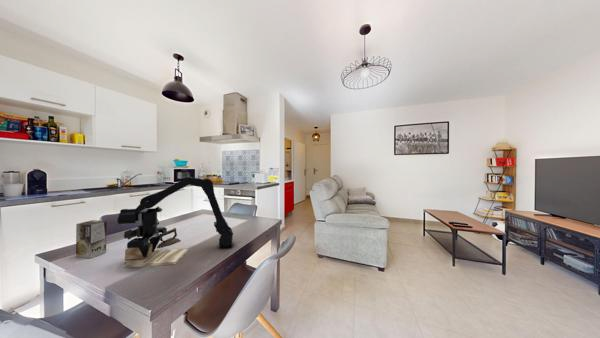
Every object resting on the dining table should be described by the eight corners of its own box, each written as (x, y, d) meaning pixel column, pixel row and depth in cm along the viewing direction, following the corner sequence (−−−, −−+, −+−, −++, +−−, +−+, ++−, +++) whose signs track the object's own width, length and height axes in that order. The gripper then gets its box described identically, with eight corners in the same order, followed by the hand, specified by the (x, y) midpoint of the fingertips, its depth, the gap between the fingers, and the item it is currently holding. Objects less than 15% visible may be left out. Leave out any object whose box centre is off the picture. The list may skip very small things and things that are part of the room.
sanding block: (152, 254, 85) (152, 244, 86) (145, 259, 81) (145, 248, 81) (133, 255, 84) (133, 245, 84) (124, 260, 79) (125, 249, 79)
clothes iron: (181, 241, 105) (179, 226, 103) (163, 254, 94) (160, 238, 92) (172, 239, 107) (170, 224, 104) (153, 251, 96) (150, 235, 94)
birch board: (187, 250, 92) (187, 248, 92) (175, 264, 79) (175, 261, 79) (144, 253, 88) (144, 251, 88) (123, 267, 76) (123, 265, 76)
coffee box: (107, 252, 89) (107, 220, 89) (90, 258, 83) (91, 224, 83) (92, 250, 90) (93, 219, 90) (74, 257, 84) (75, 223, 84)
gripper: (143, 217, 91) (143, 247, 91) (112, 229, 72) (111, 266, 72) (167, 216, 93) (167, 245, 93) (143, 227, 75) (142, 264, 74)
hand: (148, 254), depth 83 cm, fingers closed on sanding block, 5 cm apart
